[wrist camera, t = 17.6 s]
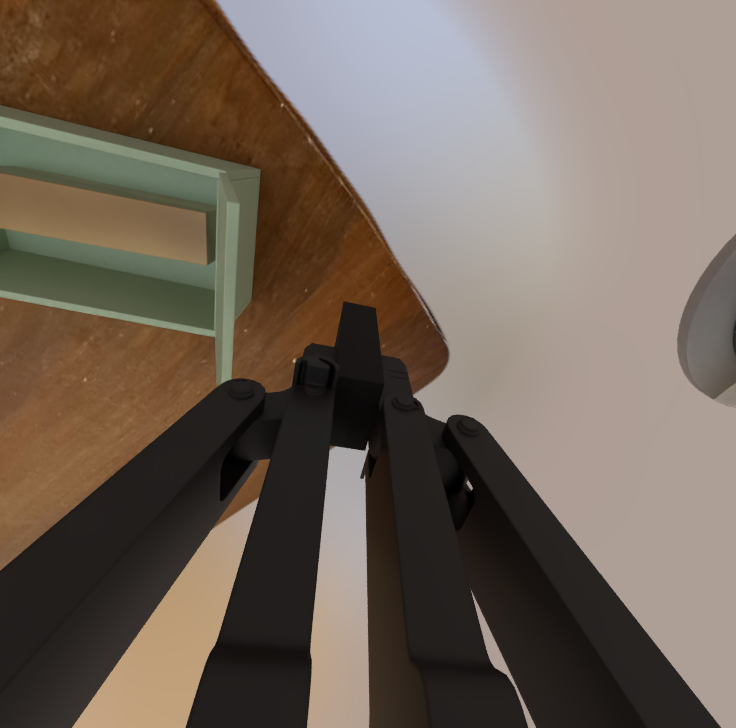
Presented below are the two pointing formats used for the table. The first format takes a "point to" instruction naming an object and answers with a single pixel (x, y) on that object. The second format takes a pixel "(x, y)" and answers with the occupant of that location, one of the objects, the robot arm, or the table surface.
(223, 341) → the flap
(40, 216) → the birch block
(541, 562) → the robot arm
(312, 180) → the table surface
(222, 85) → the table surface
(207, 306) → the carton
